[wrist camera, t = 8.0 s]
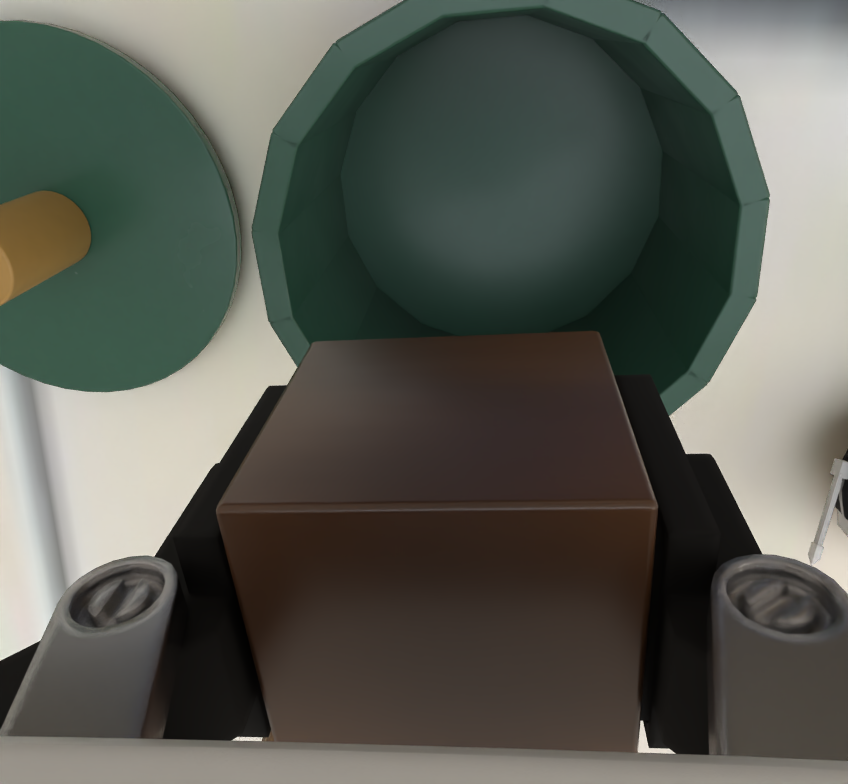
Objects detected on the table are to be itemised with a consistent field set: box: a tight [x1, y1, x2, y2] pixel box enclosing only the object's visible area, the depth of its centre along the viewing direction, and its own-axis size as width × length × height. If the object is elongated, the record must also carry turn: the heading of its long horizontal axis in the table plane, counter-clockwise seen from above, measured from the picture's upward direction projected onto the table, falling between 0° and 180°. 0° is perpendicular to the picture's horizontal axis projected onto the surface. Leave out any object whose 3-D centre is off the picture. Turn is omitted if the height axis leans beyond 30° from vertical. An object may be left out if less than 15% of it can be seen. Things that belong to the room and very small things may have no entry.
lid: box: [0, 21, 241, 392], centre depth 25 cm, size 14×14×6 cm
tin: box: [252, 0, 770, 416], centre depth 22 cm, size 13×13×9 cm
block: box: [216, 331, 658, 753], centre depth 10 cm, size 4×4×4 cm
